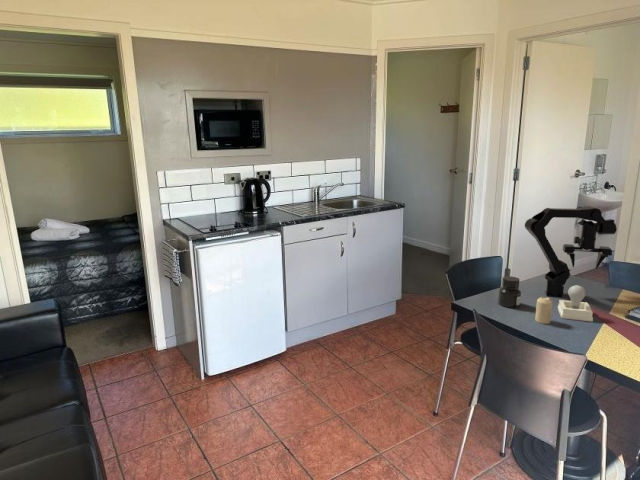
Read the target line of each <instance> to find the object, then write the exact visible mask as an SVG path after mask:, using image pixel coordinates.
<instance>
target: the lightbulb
mask: <svg viewBox="0 0 640 480" xmlns="http://www.w3.org/2000/svg"><path fill="white" fill-rule="evenodd" d="M567 293H568V296H569V298H570V301H571V305H572V307H571V308H572V309H579V306H580V302H582V301H583V300H584V298H585V297H586V290H585V289H584V287H583V286H582V285H581V286H580V285H577V284H576V285H573V286H570V287H569V289H568V291H567Z"/></svg>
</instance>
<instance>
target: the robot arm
mask: <svg viewBox="0 0 640 480" xmlns="http://www.w3.org/2000/svg"><path fill="white" fill-rule="evenodd" d="M553 218H565V219H566V218H568V219H575V218H576V219H581V220H580V221H578V222H577V224H578V225H580V226H581V227H582V228H581V235H580V236H574V238H573V244H572V243H569V244H568V243H565V244H563V245H562V251H563V253H566V255H568V256H569V258H570V261H571V266H572V268H574V267H575V259H576V258H575V256H576V255H575V251H576V252H585V253H589V252H590V253H597V258H596V263H595V269H596V270H597V269H598V268H599V267H600V265H601V263H602V262H603V261H604V260H605V258H608V257H609V256H611V257H612V256H613V250H612V249H611V248H610V247H609V246H601V245H599V247H595V246H596V241H597V234H598V235H599V236H600V235H601V236H603V235H605V236H606V235H615V234H616V233H617V225H616V223H615V221H616V220H615V219H611V218H609V219H605V218H604V217H603V215H602V211H601V209H600V208H599V207H594V206H590V205H586V206H581V207H578V208H556V207H555V208H552V207H546V208H544V209H542V211H540V212H538V213H536V214H534V215H533V216H532V217H531V218H529V219H527V220H526V221H525V222H524V228H525V230H526V231H527V232H528V233H529V235H531V236H532V237H533V238H534V239H535V241H536V242H537V245H538V246H539V248H540V250H541V251H542V253H543V254H544V258H545V259H546V260H547V262H548V269H549V271H548V272H547V273H545V275H544V278H545V280H546V288H545V290H544V294H545V295H546V297H552V298H553V297H554V298H563V295H564V292H565V291H564V289H565V284H566V282H567V280H568V279H570V276H571V269H570V268H569V267H568V264H567V263H566V262H564V261H563V260H560V259H559V258H558V255H557V254H556V252H555V251H554V249H553V246H552V245H551V243H550V241H549V239H548V238H547V236H546V235H547V234H546V229H545V227H547V226H548V225H549V223H550V222H551V221H552V219H553ZM574 244H576V245H577V246H574Z"/></svg>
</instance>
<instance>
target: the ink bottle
mask: <svg viewBox="0 0 640 480" xmlns="http://www.w3.org/2000/svg"><path fill="white" fill-rule="evenodd" d="M501 282H502V283H501V287H500V288H499V289H498V298H497V303H498V304H499V305H500V306H501V307H504V308H510V309H511V308H519V307H520V305H521V297H522V295H521V294H522V292H521V290H520V289H519V287H520V278H519V277H516V276H511V275H509V276H508V275H506V276H503V277H502V280H501Z"/></svg>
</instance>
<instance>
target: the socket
mask: <svg viewBox="0 0 640 480" xmlns="http://www.w3.org/2000/svg"><path fill="white" fill-rule="evenodd" d="M558 301H559V302H558V305H557V310H558V313H559V315H560V318H561V319H567V320H573V321H585V322H593V320H594V318H593V314H594V312H593V310H592V308H591V306H590V305H589V303H588V302H586V301H585V302H583V301H581V302H580V306H579V309H572V308H571V307H572V305H571V300H564V299H559V300H558Z"/></svg>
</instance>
